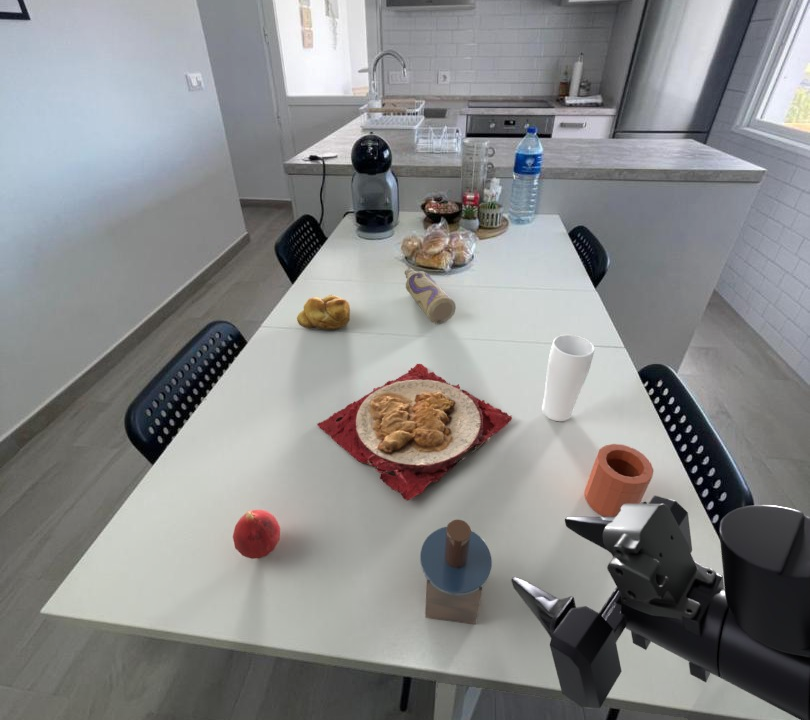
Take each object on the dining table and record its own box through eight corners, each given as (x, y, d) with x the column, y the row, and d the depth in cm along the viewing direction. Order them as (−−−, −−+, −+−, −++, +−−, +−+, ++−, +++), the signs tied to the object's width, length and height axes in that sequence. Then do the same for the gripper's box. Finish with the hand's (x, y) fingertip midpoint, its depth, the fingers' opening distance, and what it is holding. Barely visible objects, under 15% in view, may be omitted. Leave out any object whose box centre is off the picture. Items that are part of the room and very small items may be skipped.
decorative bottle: (456, 321, 109) (458, 296, 105) (428, 326, 107) (428, 302, 103) (420, 277, 129) (421, 256, 125) (396, 281, 127) (395, 259, 123)
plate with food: (512, 425, 80) (515, 410, 78) (408, 506, 65) (408, 490, 63) (419, 369, 94) (419, 355, 92) (316, 425, 80) (314, 410, 78)
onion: (291, 536, 62) (282, 500, 57) (270, 575, 57) (258, 539, 53) (254, 526, 63) (242, 490, 59) (231, 564, 59) (216, 528, 54)
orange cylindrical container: (645, 503, 66) (663, 467, 61) (617, 529, 63) (634, 492, 58) (602, 472, 71) (616, 436, 66) (574, 495, 67) (586, 458, 63)
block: (476, 575, 57) (482, 539, 53) (475, 624, 52) (482, 589, 48) (429, 569, 58) (431, 533, 53) (425, 617, 53) (426, 582, 48)
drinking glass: (579, 408, 83) (599, 341, 74) (569, 430, 78) (589, 361, 70) (543, 396, 86) (559, 330, 77) (532, 416, 81) (546, 348, 73)
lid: (490, 532, 53) (496, 502, 50) (492, 600, 47) (498, 571, 44) (424, 525, 54) (424, 494, 51) (416, 590, 48) (416, 560, 44)
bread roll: (295, 334, 105) (290, 304, 100) (302, 314, 112) (297, 285, 108) (350, 333, 105) (347, 303, 100) (353, 313, 113) (351, 284, 108)
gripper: (763, 469, 34) (576, 431, 47) (664, 655, 24) (457, 544, 36) (769, 580, 38) (593, 518, 50) (684, 786, 27) (488, 644, 39)
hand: (541, 549), depth 44 cm, fingers open, 9 cm apart
